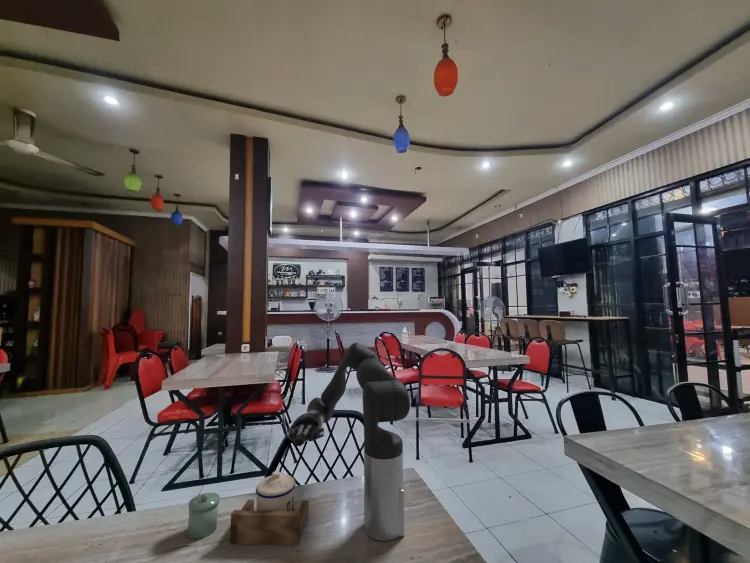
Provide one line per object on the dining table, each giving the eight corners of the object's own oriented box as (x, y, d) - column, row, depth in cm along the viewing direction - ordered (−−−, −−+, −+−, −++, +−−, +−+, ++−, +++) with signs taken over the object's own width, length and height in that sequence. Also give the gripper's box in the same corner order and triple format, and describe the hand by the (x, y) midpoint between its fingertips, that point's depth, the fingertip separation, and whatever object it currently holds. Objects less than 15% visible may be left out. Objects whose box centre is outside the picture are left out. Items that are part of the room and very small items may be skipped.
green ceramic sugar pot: (221, 520, 78) (224, 486, 79) (211, 538, 72) (214, 501, 72) (193, 521, 77) (196, 487, 78) (181, 540, 71) (184, 502, 72)
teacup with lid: (290, 536, 72) (290, 482, 73) (248, 537, 72) (250, 483, 73) (300, 504, 84) (301, 457, 85) (265, 505, 84) (266, 458, 85)
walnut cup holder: (308, 517, 78) (308, 491, 79) (298, 544, 70) (298, 515, 70) (247, 516, 79) (248, 491, 79) (230, 543, 70) (230, 514, 71)
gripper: (293, 412, 115) (276, 429, 98) (329, 412, 114) (320, 430, 97) (292, 434, 114) (276, 455, 97) (329, 434, 114) (319, 456, 96)
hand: (298, 442), depth 97 cm, fingers closed
